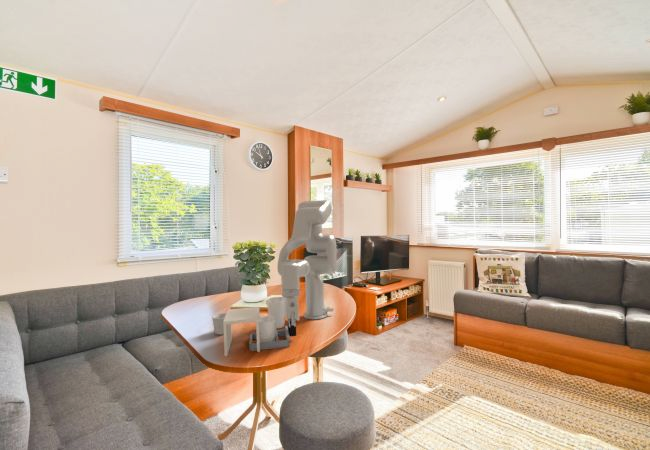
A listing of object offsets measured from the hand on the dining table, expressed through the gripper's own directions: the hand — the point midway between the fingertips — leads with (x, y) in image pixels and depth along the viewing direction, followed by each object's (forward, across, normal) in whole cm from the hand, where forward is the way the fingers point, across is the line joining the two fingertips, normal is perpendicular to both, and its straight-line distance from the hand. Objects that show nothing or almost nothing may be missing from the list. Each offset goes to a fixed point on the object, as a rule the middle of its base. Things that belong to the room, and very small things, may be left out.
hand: (292, 335), depth 128 cm
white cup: (+2, 0, +10) cm, 11 cm away
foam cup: (+2, +19, +5) cm, 20 cm away
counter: (+2, 0, +19) cm, 19 cm away
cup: (+2, +19, +30) cm, 36 cm away
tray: (+2, 0, +10) cm, 10 cm away
